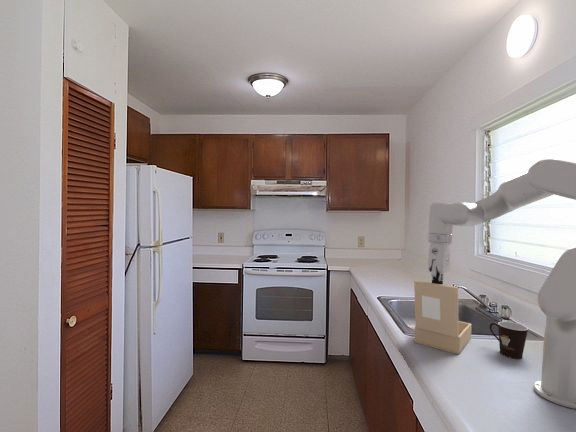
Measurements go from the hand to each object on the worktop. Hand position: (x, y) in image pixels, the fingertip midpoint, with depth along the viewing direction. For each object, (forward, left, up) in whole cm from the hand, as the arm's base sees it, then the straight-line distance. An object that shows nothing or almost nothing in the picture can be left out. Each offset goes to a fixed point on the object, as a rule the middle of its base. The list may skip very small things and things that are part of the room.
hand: (436, 291), depth 120 cm
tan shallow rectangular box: (0, -11, -20) cm, 23 cm away
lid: (0, 0, -6) cm, 6 cm away
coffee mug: (-20, -16, -21) cm, 33 cm away
